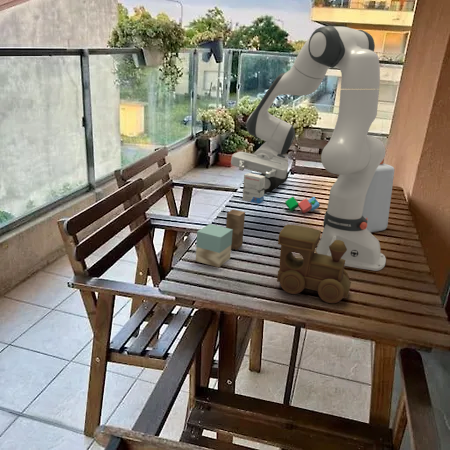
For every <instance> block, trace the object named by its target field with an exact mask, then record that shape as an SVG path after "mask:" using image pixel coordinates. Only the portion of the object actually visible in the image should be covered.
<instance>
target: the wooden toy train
mask: <svg viewBox="0 0 450 450" xmlns="http://www.w3.org/2000/svg"><path fill="white" fill-rule="evenodd" d="M321 236H322V230H320V229H317V228H313V227H307V226H303V225H297V224H289V223H287V224H286V225H284V226H283V228H282V229H281V230H280V232H279V234H278V239H277V245H278V246H279V245H280V253H279V268H278V270H277V277H276V282H277V283H279V284H280V287H281V289H282V290H283V291H285V292H286V293H287V294H291V295H297V294H300V293H301V292H303V291H304V290H305V289H308V290H312V291H316V292H317V294H318V297H319V298H320V299H321V300H322V301H324V302H325V303H327V304H336V303H339V302H341V301H342V300H343V298H346V299H348V297H349V294H350V289H351V286H352V281H351V280H350V279H349V274H348V272H347V271H346V269H345V266H344V265H345V260H344V259H341V257H342V256H343V255H344V253H345V252H346V251H347V248H346V246H345V244H344V242H343V241H341V240H335V241H334V242H333V243H332V244H331V245H330V246H329V249H330V252H331V255H332V256H328V255H323V254H318V253H317V252H316V248H317V246H318V244H319V242H320V239H321ZM293 252H295V253H296V254H299V255H300V256H301V257H296V256H295V255H294V253H293Z"/></svg>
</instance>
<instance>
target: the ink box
mask: <svg viewBox="0 0 450 450" xmlns="http://www.w3.org/2000/svg"><path fill="white" fill-rule="evenodd" d="M242 187H243V188H242V201H246V202H250V203H255V204H261V203H264V199H265V193H264V188H265V176H261V175H260V174H257V173H252V172H251V173H250V172H248V173H245V174H244V175H243V185H242Z"/></svg>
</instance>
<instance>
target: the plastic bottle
mask: <svg viewBox="0 0 450 450" xmlns="http://www.w3.org/2000/svg"><path fill="white" fill-rule="evenodd" d="M384 161H385V158H384V159H383V161H382V162H381V163H380V164H379V166H378V167H377V169H376V171H375V174H374V176H373V178H372V181H371V183H370V185H369V188H368V190H367V194H366V197H365V202H364V207H363V212H362V216H363V217H364V218H365V219H366V218H367V219H368V220H367V221H368V222H367V227H366V229H367V230H368V231H369V232H370V233H375V232H381V231H382V232H383V231H386V229H387V228H388V224H389V216H390V207H391V201H392V200H391V199H392V194H393V185H394V178H395V177H394V176H395V167H394V166H392V165H390V164H387V163H384Z"/></svg>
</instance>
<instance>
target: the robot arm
mask: <svg viewBox="0 0 450 450" xmlns="http://www.w3.org/2000/svg"><path fill="white" fill-rule="evenodd" d="M375 45H376V44H375V39H374V37H373V36H372V35H371V34H370V32H369V33H368V32H367V31H365V30H363V29H355V28H352V27H348V26H334V25H333V26H332V25H325V26H320V27H318V28H316V29H315V30H314V31H313V32H312V33H311V35H310V36H309V38H308V39H307V40H306V41H305V43H304V44H303V46H302V47H301V48H300V51H299V52H298V55H297V56H296V58H295V60H294V62H293V65H292V67H290V69H289V70H288V71H286V72H281V73H280V74H279V75H277V77H276V78H275V79H274V80H273V82H272V83H271V85H270V86H269V88H268V89H267V90H266V92H265V94H264V95H263V96H262V98H261V100H260V101H259V103H258V105H256V108H255V109H254V110H253V111H252V112H251V113H250V115H249V116H248V118H247V119H246V122H245V128H246V131H247V132H248V134H249V135H250V136H252V137H255V138H258V139H260V140H262V141H264V142H263V144H261V146H260V145H259V146H260V147H259V148H258V149H256V151H255V152H253V153H249V152H247V151H246V152H245V151H238V152H236V153H234V154H232V156H231V160H230V164H231V166H234V167H236V168H238V171H243V172H244V171H245V170H249V171H252V172H255V173H258V174H266V175H265V177H267V178H270V177H277V178H280V179H285V178H286V174H287V171H288V169H289V157H288V156H284V154H286V153H287V152H288V151H289V149H290V147H291V146H292V144H293V142H294V139H295V137H296V130H295V127H294V125H292V124H291V123H288V122H287V121H285V120H283V119H281V118H278V117H276V116H275V115H273V114H271V113H270V112H269V109H270V108H271V106H272V105H273V103H274V102H275V100H276V98H277V97H279V96H282V95H284V96H285V95H287V96H288V95H289V96H290V95H291V96H298V97H302V96H308V95H311V94H313V93H314V92H316V91H317V90H318V88H319V87H320V85H321V84H322V82H323V80H324V78H325V76H326V74H327V73H328V72H327V71H328V70H329V68H331V69H332V68H335V67H337V68H338V70H340V73H341V82H340V94H339V106H338V114H337V119H336V122H335V126H334V129H333V131H332V135H331V136H330V139H329V141H328V142H327V144H325V146H324V147H323V149H322V151H321V157H320V158H321V164H322V167H323V168H324V169H325V170H326V172H328V173H330V174H335V175H338V176H337V179H336V180H335V182H334V183H333V184H332V186H331V187H330V191H329V194H328V195H329V196H328V203H327V209H326V211H325V213H324V216H323V217H324V218H323V223H322V224H323V226H322V227H323V230H322V232H321V235H320V240H319V243H318V245H317V247H316V248H315V253H317V254H323V255H328V256H332V255H331V252H330V249H329V246H330V245H331V244H332V243H333V242H334V241H335V240H341V241H343V242H344V244H345V246H346V248H347V251H346V252H345V253H344V255H343V256H342V257H341V259H344V260H345V265H344V267H350V268H357V269H363V270H368V271H369V270H370V271H373V272H374V271H381V270H382V269H384V267H385V266H386V262H387V261H386V260H387V258H386V256H385V254H383V253H382V252H381V245H380V244H381V243H380V241H379V239H378V238H376V236H374V235H373V233H372V232H369V231H368V230H367V229H366V227H367V222H368V221H367V220H368V219H367V218H366V219H365V218H364V217H363V216H362V212H363V207H364V202H365V197H366V194H367V190H368V188H369V185H370V183H371V181H372V178H373V176H374V174H375V171H376V169H377V167H378V166H379V164H380V163H381V162H382V161H383V159H384V160H385V157H386V147H385V144H384V143H383V141H382V140H381V139H379V138H378V137H374V136H370V135H368V133H369V130H370V128H371V126H372V124H373V123H374V121H375V120H376V118H377V115H378V107H379V106H378V105H379V95H380V84H381V83H380V82H381V70H380V69H381V67H380V59H379V56H378V54H377V53H376V51H375V48H376V46H375Z"/></svg>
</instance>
